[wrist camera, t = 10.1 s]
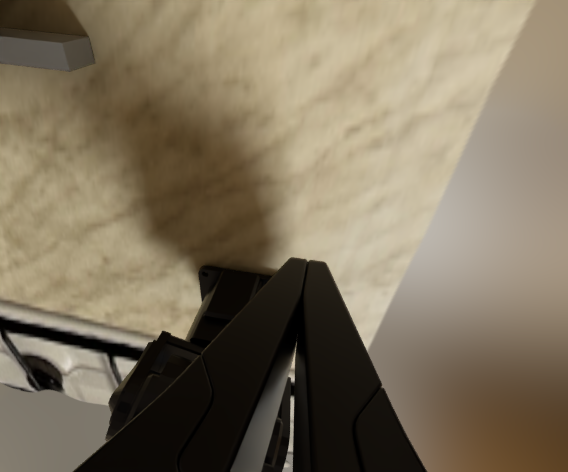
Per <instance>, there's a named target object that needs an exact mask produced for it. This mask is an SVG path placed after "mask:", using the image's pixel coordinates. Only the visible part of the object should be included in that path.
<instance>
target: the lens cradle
mask: <svg viewBox="0 0 568 472" xmlns="http://www.w3.org/2000/svg"><path fill="white" fill-rule="evenodd" d="M0 63H2V64H10V65H18V66H27V67H35V68H44V69H52V70H60V71H69V72H71V71H73V70H76V69H79V68H82V67H85V66H88V65H91V64H94V63H95V61H94V57H93V53H92V49H91V45H90V41H89V37H85V36H76V35H67V34H57V33H48V32H39V31H30V30H21V29H11V28H2V27H0Z"/></svg>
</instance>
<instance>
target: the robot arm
mask: <svg viewBox="0 0 568 472" xmlns="http://www.w3.org/2000/svg"><path fill="white" fill-rule="evenodd" d="M206 272H207V273H206ZM199 281H200V290H201V298H202V304H201V307H200V309H199V311H198V313H197V315H196V317H195V319H194V322H193V324H192V326H191V328H190V330H189V332H188V334H187V337H186V339H185V340H183V339H180V338H178V337H175V336H172V335H171V333H168V332H166V331H162V333H161V334H160V336H159V338H158V339H157V341H156V340H154V341H153V342H149V343H148V344H147V346H146V348H145V350H144V352H143V353H142V355H141V357H140V359H139V360H138V362H137V363H136V365H135V366H134V368H133V369H132V370H131V372H130V373H129V374H128V375H127V376H126V378H125V379H124V380H123V381H122V383H121V384H120V385H119V386H118V388H117V389H116V390H115V391H114V393H113V394H112V396H111V398H110V400H109V403H108V404H109V407H110V411H111V414H112V416H111V418H110V422H109V424H110V426H109V428H108V432H107V435H106V441H107V442H106V443H105V444H104V445H103V446H102V447H100V448H99V449H98V450H97V451H96V452H95V453H93V454H92V455H91V456H90V457H89V458H88V459H87V460H85V461H84V462H83V463H82V464H81V465H80V466H79V467H77V468H76V469H75V470H74V471H73V472H282V470H283V467H284V464H285V460H286V456H287V451H288V446H289V439H290V398H291V378H290V377H288V375H289V371H290V368H291V364H292V361H293V357H294V353H295V348H296V356H295V395H294V440H293V472H427V470H426V469H425V467H424V466H423V463H422V462H421V460H420V458H419V456H418V454H417V453H416V451H415V449H414V447H413V446H412V444H411V442H410V440H409V438H408V437H407V435H406V433H405V431H404V429H403V427H402V425H401V423H400V421H399V419H398V417H397V415H396V413H395V411H394V409H393V407H392V404H391V402H390V400H389V398H388V396H387V394H386V391H385V389H384V388H381V387H382V383H381V381H380V379H379V376H378V374H377V372H376V370H375V368H374V366H373V363H372V361H371V359H370V357H369V355H368V353H367V350H366V348H365V346H364V344H363V342H362V339H361V337H360V335H359V333H358V331H357V329H356V326H355V324H354V322H353V320H352V318H351V316H350V313H349V311H348V309H347V307H346V305H345V303H344V300H343V298H342V296H341V294H340V292H339V289H338V287H337V285H336V283H335V281H334V279H333V276H332V274H331V272H330V270H329V268H328V266H327V264H326V263H325V262H322V261H315V260H310V261H307V260H306V259H301V258H294V257H291V258H290V259H289V260H288V261H287V262H286V263H285V264H284V265H283V266H282V267H281V268H280V269H279V270H278V271H277V272H276V273H275V274H274V276H273V277H272V276H266V275H260V274H254V273H248V272H242V271H236V270H230V269H224V268H218V267H212V266H202V267H201V268H200V270H199ZM296 342H297V345H296Z"/></svg>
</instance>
